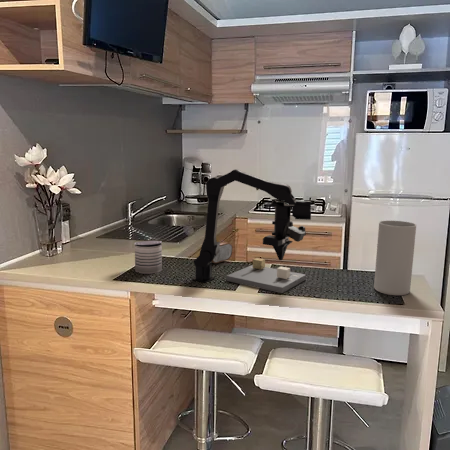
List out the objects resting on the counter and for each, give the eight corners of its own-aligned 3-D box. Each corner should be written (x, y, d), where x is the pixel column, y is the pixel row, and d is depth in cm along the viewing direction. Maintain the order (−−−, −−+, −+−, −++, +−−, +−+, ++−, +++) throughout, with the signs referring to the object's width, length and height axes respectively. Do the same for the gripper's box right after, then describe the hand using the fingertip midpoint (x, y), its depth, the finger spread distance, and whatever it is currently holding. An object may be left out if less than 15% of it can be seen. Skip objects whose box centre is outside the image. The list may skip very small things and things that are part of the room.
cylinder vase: (413, 297, 163) (419, 227, 158) (376, 294, 165) (381, 225, 160) (406, 286, 175) (412, 221, 170) (371, 284, 177) (376, 219, 172)
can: (134, 274, 184) (134, 245, 182) (133, 266, 195) (133, 238, 193) (163, 273, 187) (163, 244, 184) (161, 265, 197) (160, 238, 195)
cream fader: (286, 279, 173) (286, 270, 173) (276, 277, 175) (277, 268, 175) (289, 277, 176) (290, 268, 175) (280, 275, 178) (280, 266, 177)
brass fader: (261, 269, 185) (261, 260, 185) (252, 267, 188) (252, 259, 187) (264, 267, 188) (265, 259, 187) (256, 266, 190) (256, 257, 189)
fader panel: (282, 293, 165) (282, 287, 164) (226, 280, 178) (226, 275, 177) (305, 279, 181) (305, 274, 181) (252, 269, 194) (253, 264, 194)
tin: (228, 257, 212) (228, 239, 211) (233, 259, 210) (234, 240, 209) (206, 264, 201) (206, 245, 199) (211, 265, 199) (212, 246, 197)
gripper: (291, 224, 157) (289, 269, 160) (313, 217, 172) (311, 258, 175) (262, 221, 163) (261, 264, 166) (286, 214, 178) (284, 254, 181)
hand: (280, 260), depth 172 cm, fingers closed
